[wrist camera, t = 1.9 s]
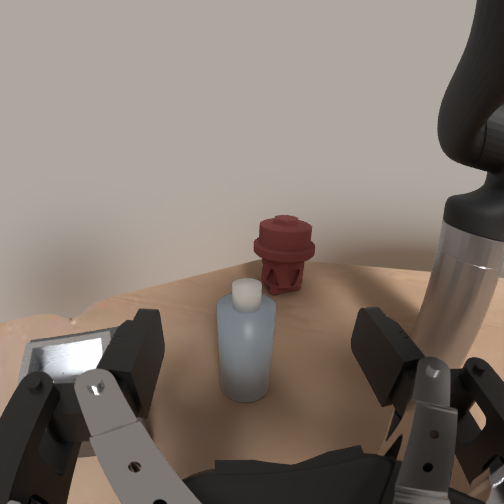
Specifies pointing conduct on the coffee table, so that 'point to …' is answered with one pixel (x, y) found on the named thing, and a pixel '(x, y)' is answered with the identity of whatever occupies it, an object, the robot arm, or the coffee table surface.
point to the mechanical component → (284, 252)
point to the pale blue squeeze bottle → (245, 340)
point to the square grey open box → (68, 361)
